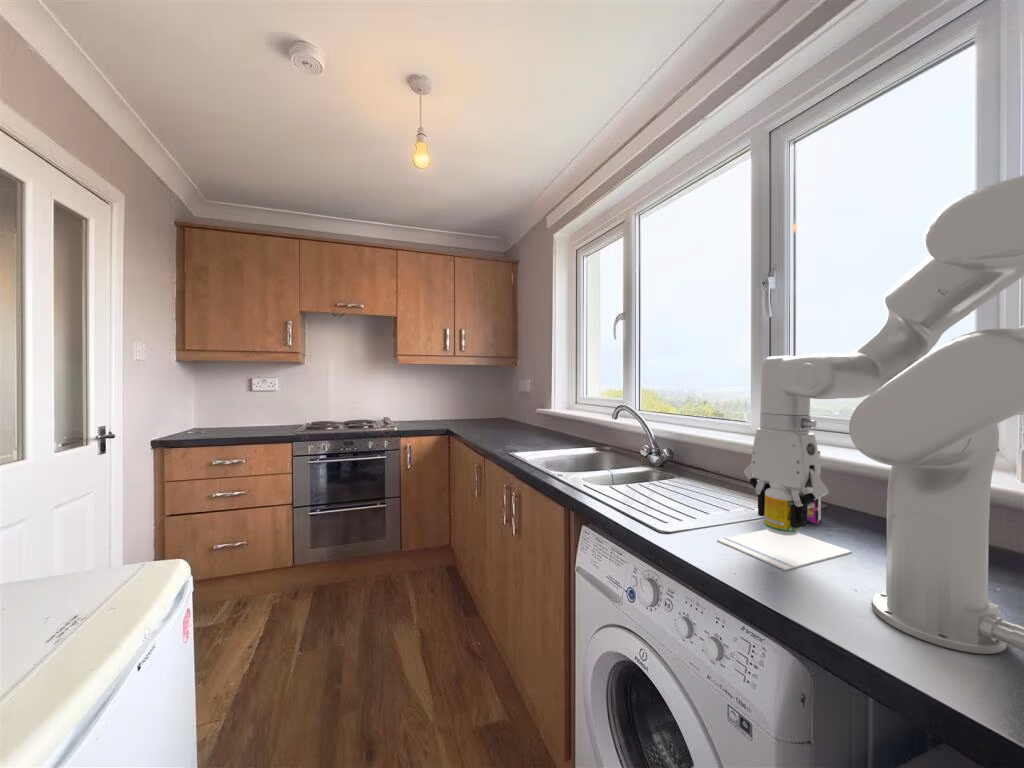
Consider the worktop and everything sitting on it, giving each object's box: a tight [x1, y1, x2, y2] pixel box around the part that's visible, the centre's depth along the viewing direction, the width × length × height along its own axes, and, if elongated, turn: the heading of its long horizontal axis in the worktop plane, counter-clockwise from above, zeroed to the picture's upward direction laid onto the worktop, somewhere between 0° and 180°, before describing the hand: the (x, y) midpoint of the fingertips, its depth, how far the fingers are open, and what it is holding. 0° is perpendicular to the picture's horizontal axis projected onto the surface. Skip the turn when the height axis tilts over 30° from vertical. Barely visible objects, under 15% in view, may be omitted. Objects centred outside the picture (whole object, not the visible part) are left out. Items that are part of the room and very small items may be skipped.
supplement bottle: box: [763, 482, 799, 535], centre depth 75 cm, size 5×5×10 cm
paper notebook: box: [716, 528, 853, 572], centre depth 81 cm, size 14×19×1 cm
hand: (781, 519), depth 75 cm, fingers closed on supplement bottle, 5 cm apart
